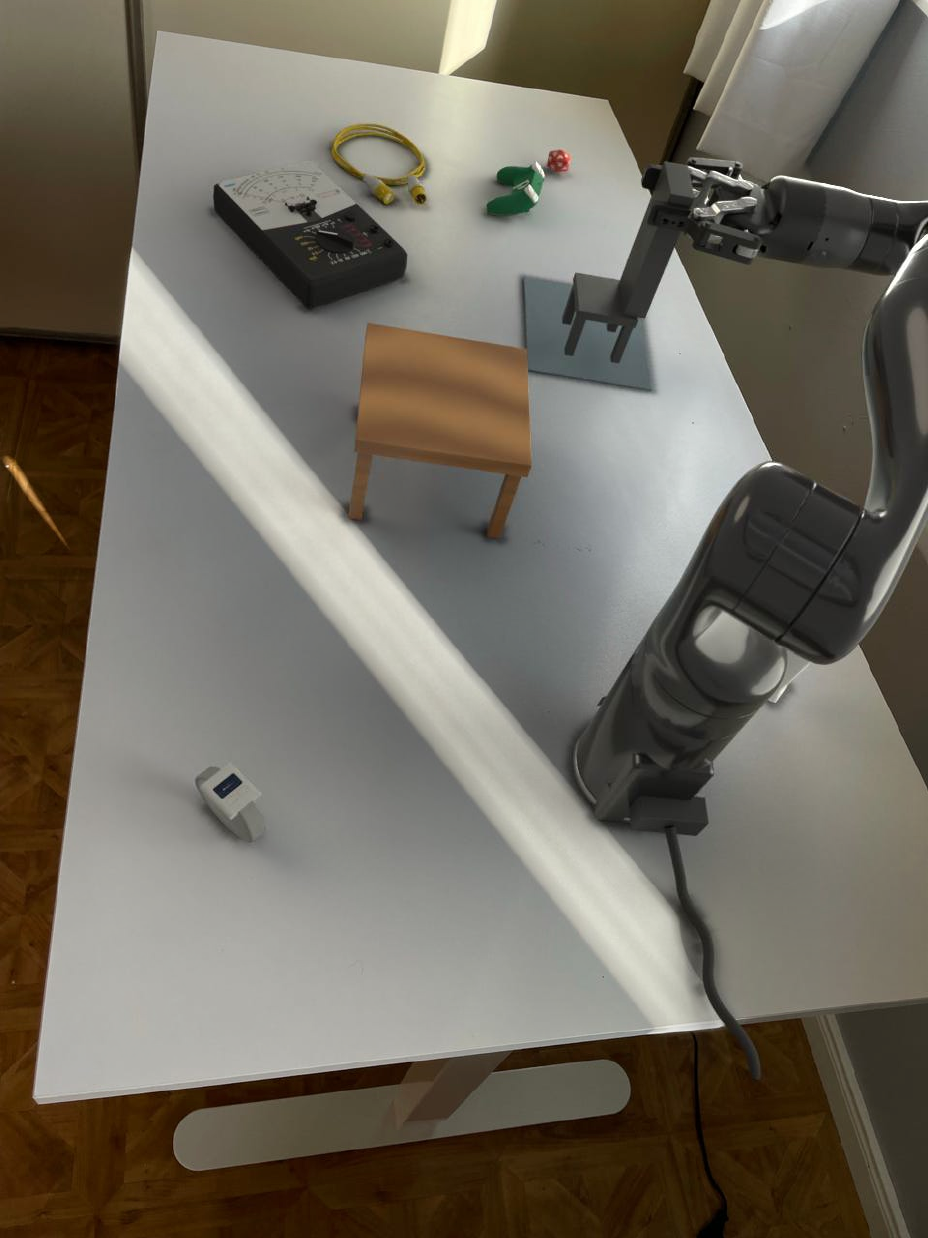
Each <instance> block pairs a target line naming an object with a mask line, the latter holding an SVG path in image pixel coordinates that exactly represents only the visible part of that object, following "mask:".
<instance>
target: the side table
mask: <svg viewBox="0 0 928 1238" xmlns="http://www.w3.org/2000/svg"><path fill="white" fill-rule="evenodd" d="M362 357H363V358H362V366H361V367H362V368H361V377H360V378H361V379H360V388H359V389H360V390H359V397H358V409H357V418H356V429H355V438H354V449H353V452H354V453H356V454H357V456H356V464H355V469H354V476H353V480H352V481H353V482H352V488H351V494H350V495H351V496H350V501H349V507H348V515H347V517H348V519H350V520H351V519H352V520H359V521H360V520H362V518H363V511H364V506H365V500H366V495H367V489H368V484H369V478H370V472H371V467H372V461H373V456H377V457H383V458H384V457H385V458H390V459H398V460H404V461H405V460H406V461H413V462H420V463H425V464H431V465H433V464H434V465H439V466H445V467H446V466H447V467H454V468H459V469H467V470H473V471H480V472H486V473H487V472H488V473H494V474H501V475H504V477H503V478H502V479H503V480H502V483H501V485H500V488H499V491H498V493H497V494H498V495H497V498H496V500H495V503H494V505H493V506H494V507H493V510H492V512H491V515H490V519H489V521H488V524H487V528H486V536H487V538H490V539H491V538H492V539H500V538H501V536H502V533H503V530H504V528H505V525H506V522H507V519H508V516H509V515H510V514H509V513H510V511H511V508H512V506H513V502H514V499H515V497H516V494H517V492H518V488H519V486H520V483H521V480H522V478H528V477H529V475H530V473H531V470H532V467H533V463H532V461H533V460H532V442H531V441H532V440H531V439H532V438H531V416H530V413H531V411H530V392H529V391H530V390H529V387H530V386H529V371H528V364H527V348H522V347H517V346H511V345H505V344H499V343H493V342H486V341H481V340H474V339H470V338H469V339H468V338H463V337H458V336H451V335H445V334H439V333H432V332H428V331H421V330H414V329H409V328H403V327H398V326H389V325H384V324H379V323H371V322H367V324H366V331H365V337H364V348H363V356H362Z"/></svg>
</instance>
